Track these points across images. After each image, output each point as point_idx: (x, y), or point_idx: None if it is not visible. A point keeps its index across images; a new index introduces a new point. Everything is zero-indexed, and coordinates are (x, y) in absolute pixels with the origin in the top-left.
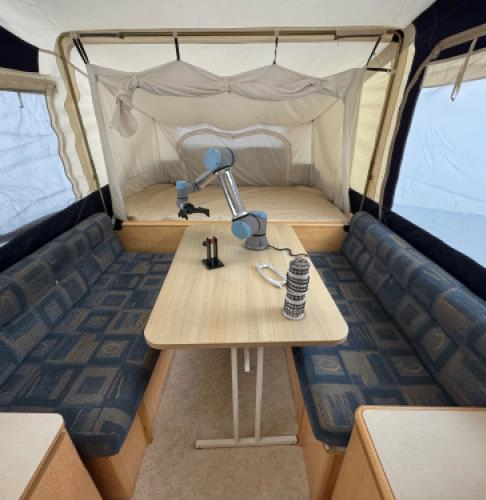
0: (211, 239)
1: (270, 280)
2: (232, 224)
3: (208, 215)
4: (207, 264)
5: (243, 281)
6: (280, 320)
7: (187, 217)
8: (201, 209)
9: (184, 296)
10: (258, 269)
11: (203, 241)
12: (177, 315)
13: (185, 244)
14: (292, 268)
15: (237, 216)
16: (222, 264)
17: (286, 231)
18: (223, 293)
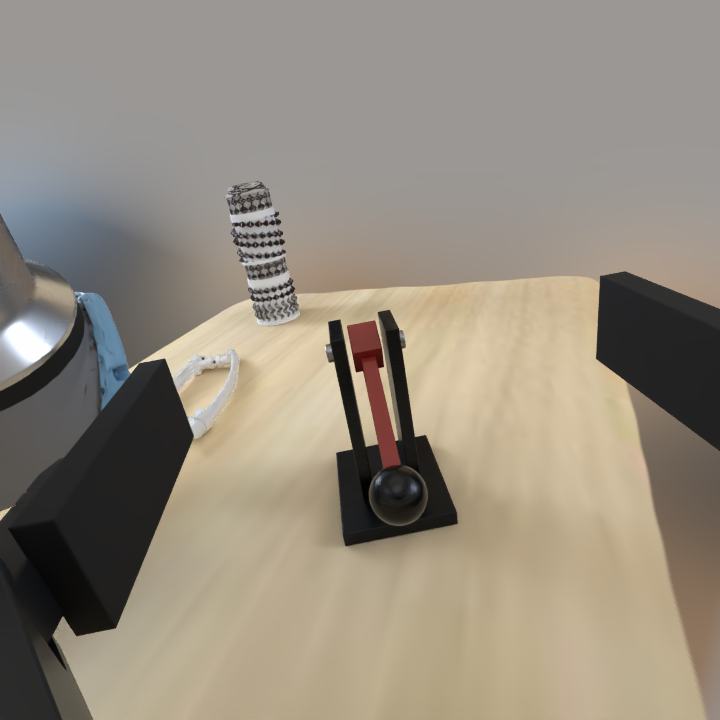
0: (367, 324)
1: (237, 365)
2: (119, 338)
3: (182, 407)
4: (426, 460)
5: (314, 382)
6: (317, 308)
7: (606, 306)
8: (21, 695)
9: (536, 341)
10: (218, 409)
11: (411, 475)
12: (544, 306)
13: None
14: (268, 194)
15: (49, 270)
16: (343, 452)
17: None
18: (405, 349)
